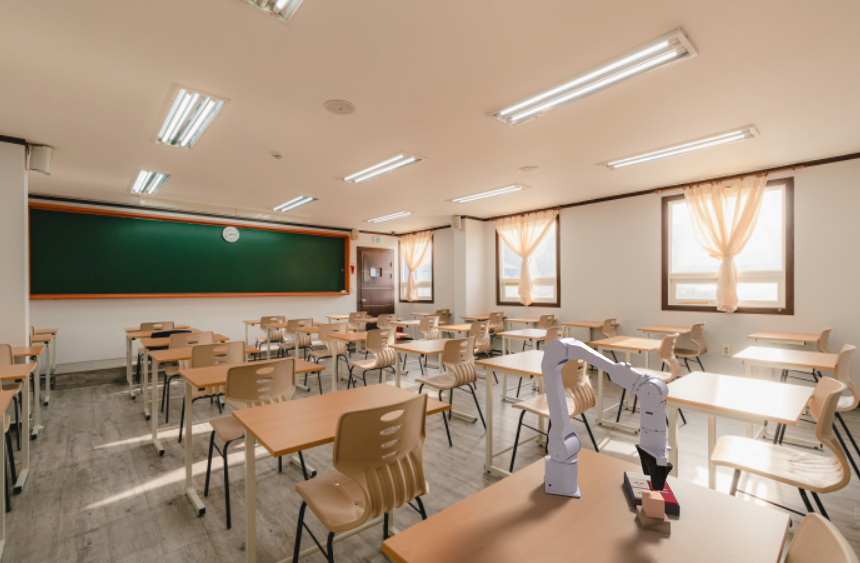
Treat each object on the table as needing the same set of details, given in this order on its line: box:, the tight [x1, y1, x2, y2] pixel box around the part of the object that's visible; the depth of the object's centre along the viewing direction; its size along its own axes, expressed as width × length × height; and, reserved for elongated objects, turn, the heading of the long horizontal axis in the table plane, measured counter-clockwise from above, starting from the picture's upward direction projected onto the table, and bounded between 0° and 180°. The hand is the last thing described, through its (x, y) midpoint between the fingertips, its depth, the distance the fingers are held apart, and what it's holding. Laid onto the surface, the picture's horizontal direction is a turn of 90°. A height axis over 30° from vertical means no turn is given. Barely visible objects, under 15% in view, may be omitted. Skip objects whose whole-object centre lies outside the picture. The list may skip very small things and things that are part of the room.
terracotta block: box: [642, 490, 665, 519], centre depth 97 cm, size 4×4×4 cm
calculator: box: [623, 471, 681, 517], centre depth 109 cm, size 11×4×15 cm
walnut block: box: [635, 505, 672, 534], centre depth 97 cm, size 6×6×3 cm
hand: (652, 482), depth 97 cm, fingers open, 7 cm apart
